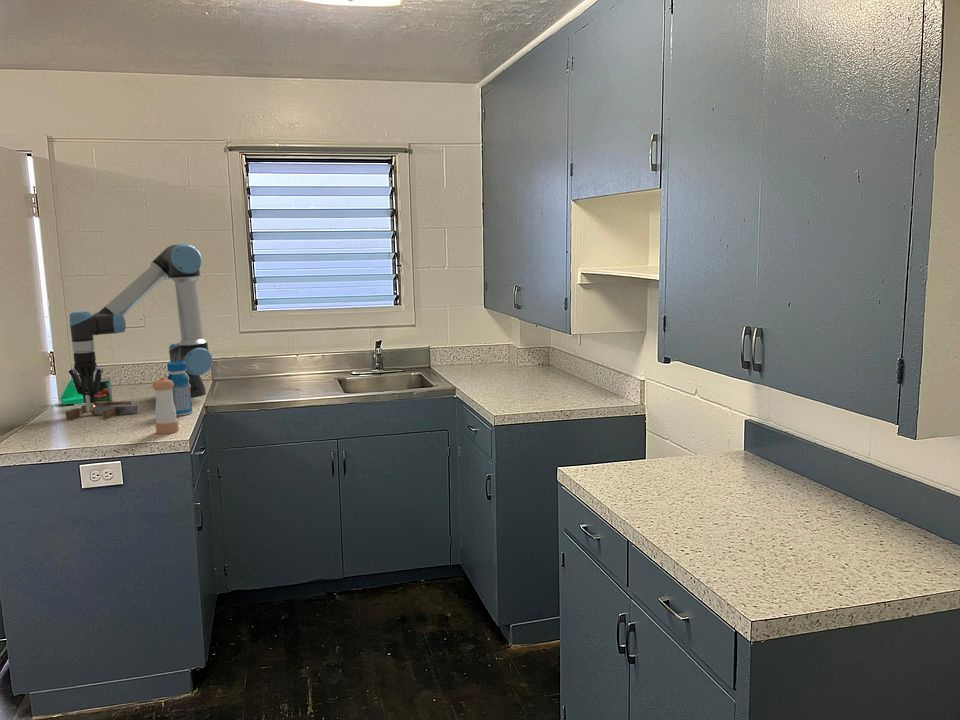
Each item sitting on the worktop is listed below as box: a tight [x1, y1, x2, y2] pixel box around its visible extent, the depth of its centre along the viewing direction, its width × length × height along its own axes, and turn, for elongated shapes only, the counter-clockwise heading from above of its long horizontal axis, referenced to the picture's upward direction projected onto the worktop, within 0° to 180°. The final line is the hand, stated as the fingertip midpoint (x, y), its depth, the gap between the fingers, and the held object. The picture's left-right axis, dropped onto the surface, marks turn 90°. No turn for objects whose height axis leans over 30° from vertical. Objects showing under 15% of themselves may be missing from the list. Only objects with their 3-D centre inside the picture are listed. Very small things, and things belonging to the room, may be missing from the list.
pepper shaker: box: [151, 377, 180, 435], centre depth 276 cm, size 7×7×19 cm
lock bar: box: [89, 404, 139, 416], centre depth 311 cm, size 18×3×3 cm, turn 88°
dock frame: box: [65, 400, 133, 420], centre depth 312 cm, size 16×20×3 cm
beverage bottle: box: [166, 361, 193, 417], centre depth 305 cm, size 8×8×20 cm
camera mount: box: [59, 378, 89, 405], centre depth 336 cm, size 12×8×10 cm, turn 128°
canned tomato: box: [94, 378, 114, 402], centre depth 327 cm, size 8×8×11 cm
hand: (90, 411), depth 311 cm, fingers closed
